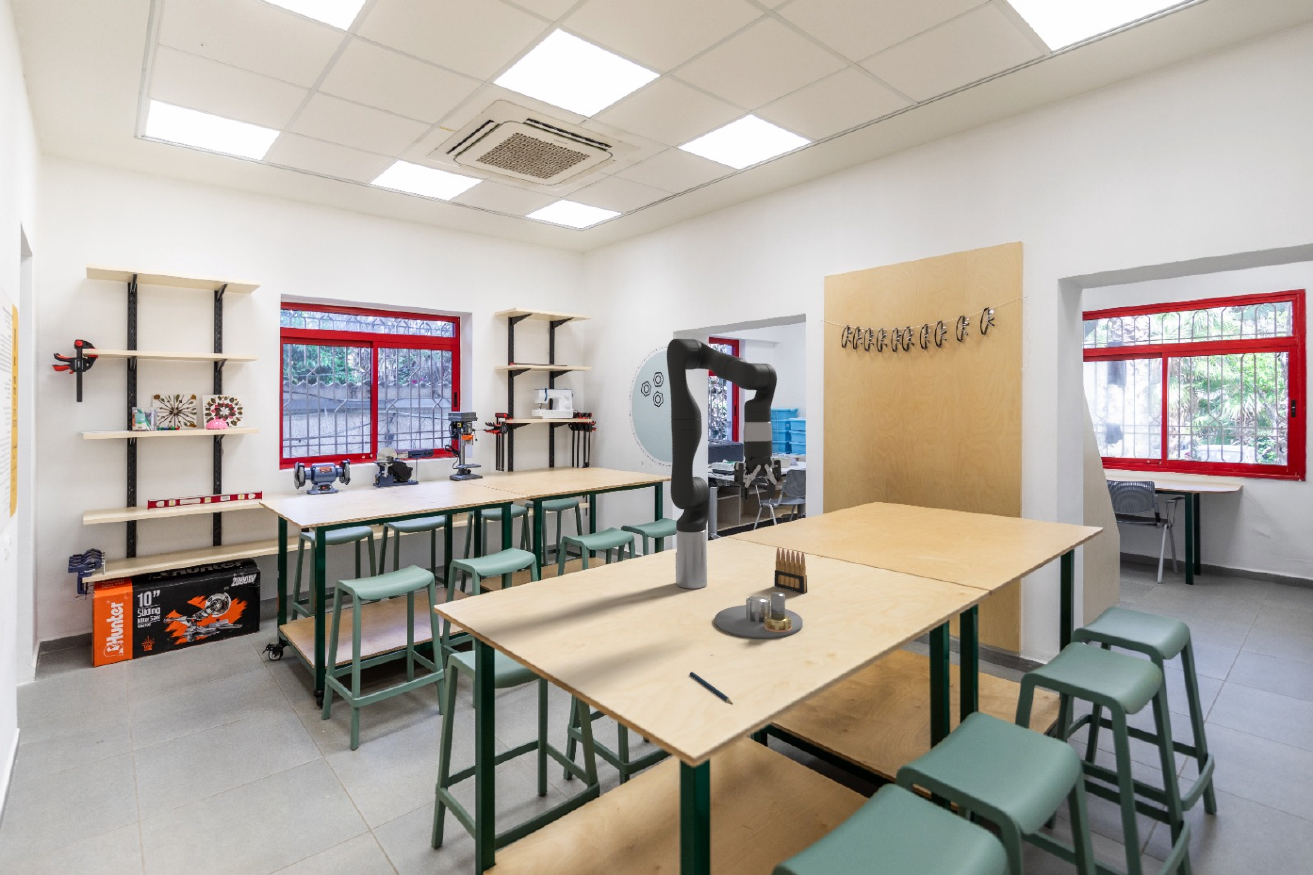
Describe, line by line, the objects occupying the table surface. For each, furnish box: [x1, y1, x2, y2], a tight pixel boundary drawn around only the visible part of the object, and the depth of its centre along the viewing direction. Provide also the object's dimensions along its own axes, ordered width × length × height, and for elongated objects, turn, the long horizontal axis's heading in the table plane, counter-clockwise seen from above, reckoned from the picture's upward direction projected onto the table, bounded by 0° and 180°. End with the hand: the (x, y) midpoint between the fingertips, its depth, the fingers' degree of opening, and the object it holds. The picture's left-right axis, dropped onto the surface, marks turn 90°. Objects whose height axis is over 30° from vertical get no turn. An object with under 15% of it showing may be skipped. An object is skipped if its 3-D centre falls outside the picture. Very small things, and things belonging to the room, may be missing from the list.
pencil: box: [689, 671, 734, 705], centre depth 125 cm, size 1×1×15 cm
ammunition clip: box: [773, 547, 808, 594], centre depth 189 cm, size 11×2×12 cm, turn 43°
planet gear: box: [765, 591, 792, 631], centre depth 155 cm, size 6×6×8 cm
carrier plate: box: [714, 595, 804, 640], centre depth 161 cm, size 22×22×6 cm
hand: (758, 499), depth 169 cm, fingers open, 8 cm apart
